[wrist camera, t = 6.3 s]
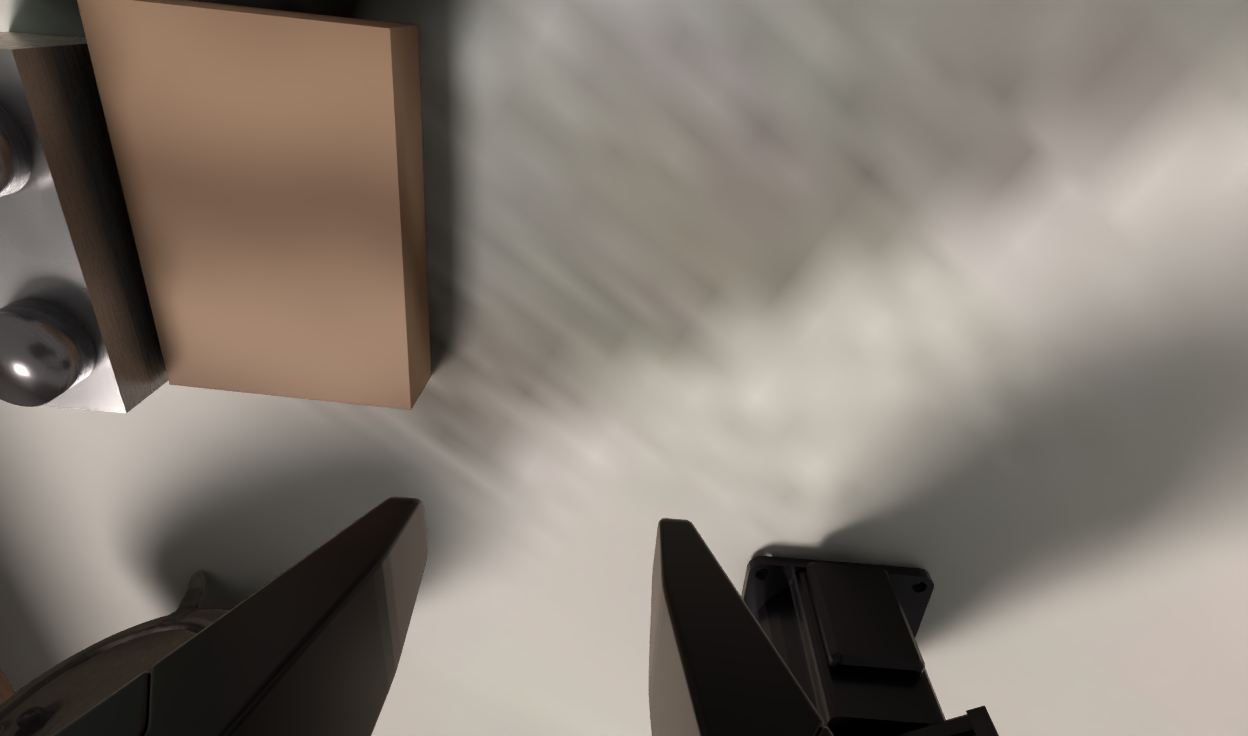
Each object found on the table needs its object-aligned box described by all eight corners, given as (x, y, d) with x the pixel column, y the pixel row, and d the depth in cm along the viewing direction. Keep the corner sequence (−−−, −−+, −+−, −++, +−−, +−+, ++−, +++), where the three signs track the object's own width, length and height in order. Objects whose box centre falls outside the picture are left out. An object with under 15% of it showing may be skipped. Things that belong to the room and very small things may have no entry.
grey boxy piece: (200, 354, 22) (95, 437, 18) (106, 347, 22) (-22, 428, 18) (123, 40, 18) (-39, 53, 14) (6, 31, 18) (-191, 42, 14)
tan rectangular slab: (434, 369, 22) (410, 409, 20) (217, 346, 22) (169, 384, 20) (422, 24, 18) (389, 28, 16) (147, -6, 18) (75, -6, 15)
